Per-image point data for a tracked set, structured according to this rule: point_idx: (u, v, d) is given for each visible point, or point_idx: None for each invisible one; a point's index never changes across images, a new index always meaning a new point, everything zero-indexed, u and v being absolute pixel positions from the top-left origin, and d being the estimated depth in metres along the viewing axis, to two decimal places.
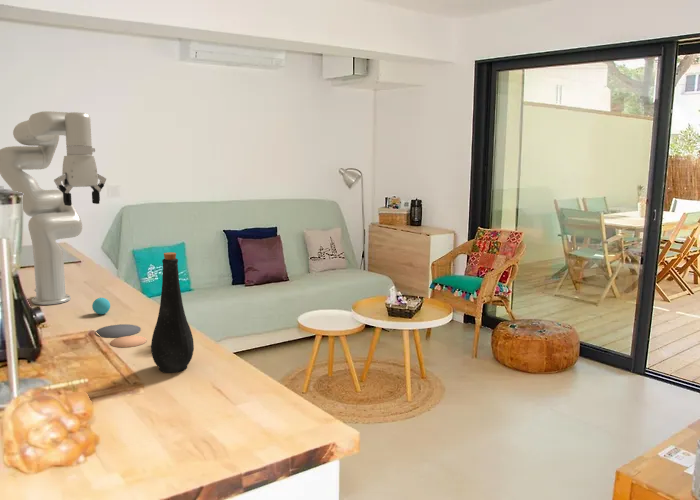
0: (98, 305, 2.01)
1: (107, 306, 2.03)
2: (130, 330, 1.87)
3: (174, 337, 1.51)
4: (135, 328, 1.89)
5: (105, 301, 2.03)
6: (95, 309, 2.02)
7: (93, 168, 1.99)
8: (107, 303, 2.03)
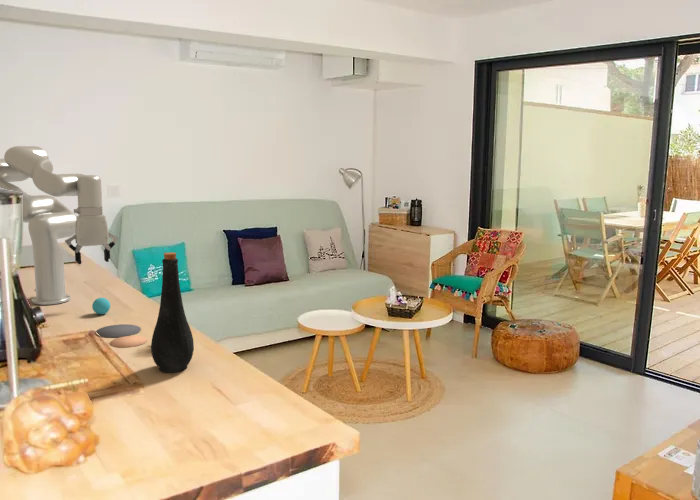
0: (98, 305, 2.01)
1: (107, 306, 2.03)
2: (130, 330, 1.87)
3: (174, 337, 1.51)
4: (135, 328, 1.89)
5: (105, 301, 2.03)
6: (95, 309, 2.02)
7: None
8: (107, 303, 2.03)
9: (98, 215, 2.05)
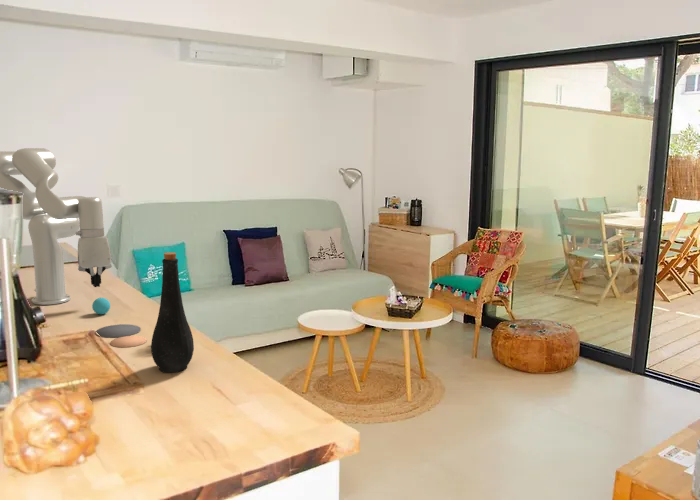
0: (98, 305, 2.01)
1: (107, 306, 2.03)
2: (130, 330, 1.87)
3: (174, 337, 1.51)
4: (135, 328, 1.89)
5: (105, 301, 2.03)
6: (95, 309, 2.02)
7: None
8: (107, 303, 2.03)
9: (100, 236, 2.06)
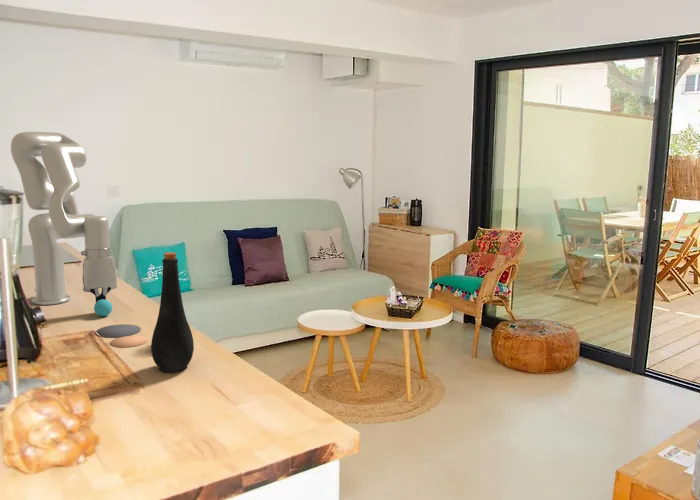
0: (100, 312, 1.99)
1: (109, 312, 2.01)
2: (130, 330, 1.87)
3: (174, 337, 1.51)
4: (135, 328, 1.89)
5: (108, 308, 2.00)
6: (96, 313, 2.00)
7: None
8: (109, 310, 2.01)
9: (106, 257, 2.01)
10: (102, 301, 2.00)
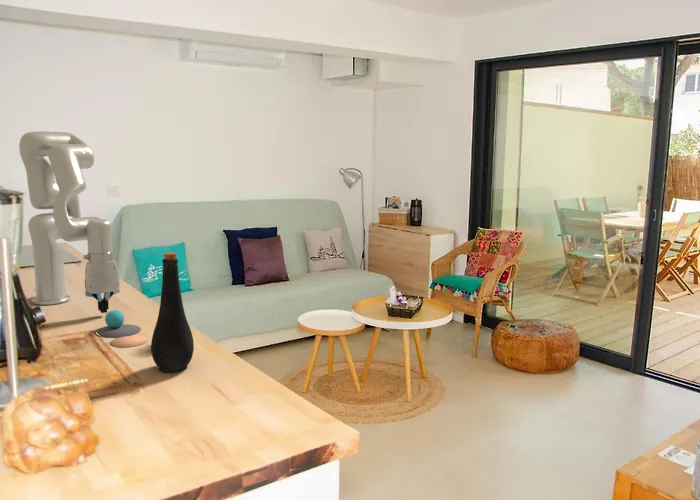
0: (111, 317, 1.87)
1: (121, 318, 1.88)
2: (130, 330, 1.87)
3: (174, 337, 1.51)
4: (135, 328, 1.89)
5: (119, 313, 1.88)
6: (108, 322, 1.87)
7: None
8: (121, 315, 1.89)
9: (109, 261, 1.97)
10: (112, 310, 1.90)
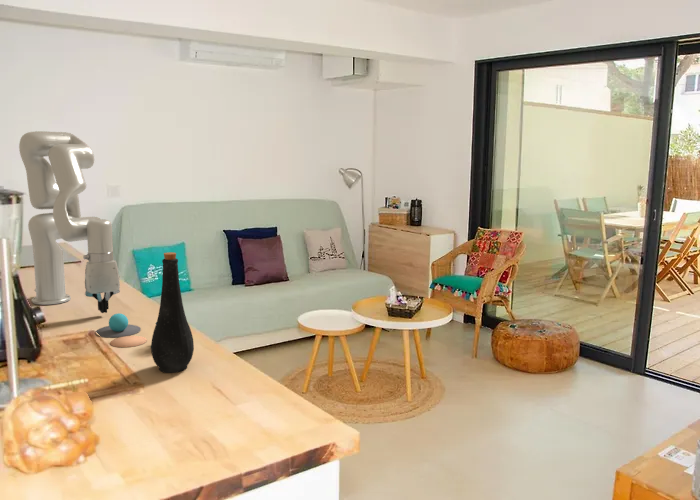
0: (114, 330, 1.84)
1: None
2: (130, 330, 1.87)
3: (174, 337, 1.51)
4: (135, 328, 1.89)
5: (123, 329, 1.85)
6: None
7: None
8: (125, 328, 1.86)
9: (109, 261, 1.97)
10: (119, 321, 1.83)
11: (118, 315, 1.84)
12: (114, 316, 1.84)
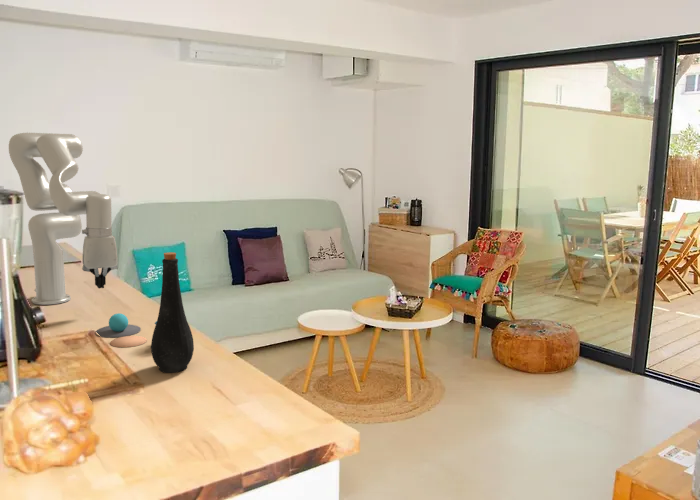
0: (114, 330, 1.84)
1: None
2: (130, 330, 1.87)
3: (174, 337, 1.51)
4: (135, 328, 1.89)
5: (123, 329, 1.85)
6: None
7: None
8: (125, 328, 1.86)
9: (107, 236, 1.96)
10: (119, 321, 1.83)
11: (118, 315, 1.84)
12: (114, 316, 1.84)
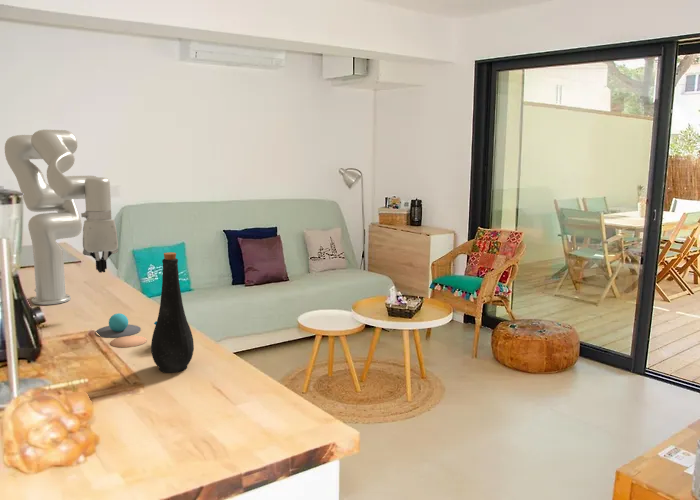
0: (114, 330, 1.84)
1: None
2: (130, 330, 1.87)
3: (174, 337, 1.51)
4: (135, 328, 1.89)
5: (123, 329, 1.85)
6: None
7: None
8: (125, 328, 1.86)
9: (107, 219, 1.95)
10: (119, 321, 1.83)
11: (118, 315, 1.84)
12: (114, 316, 1.84)
